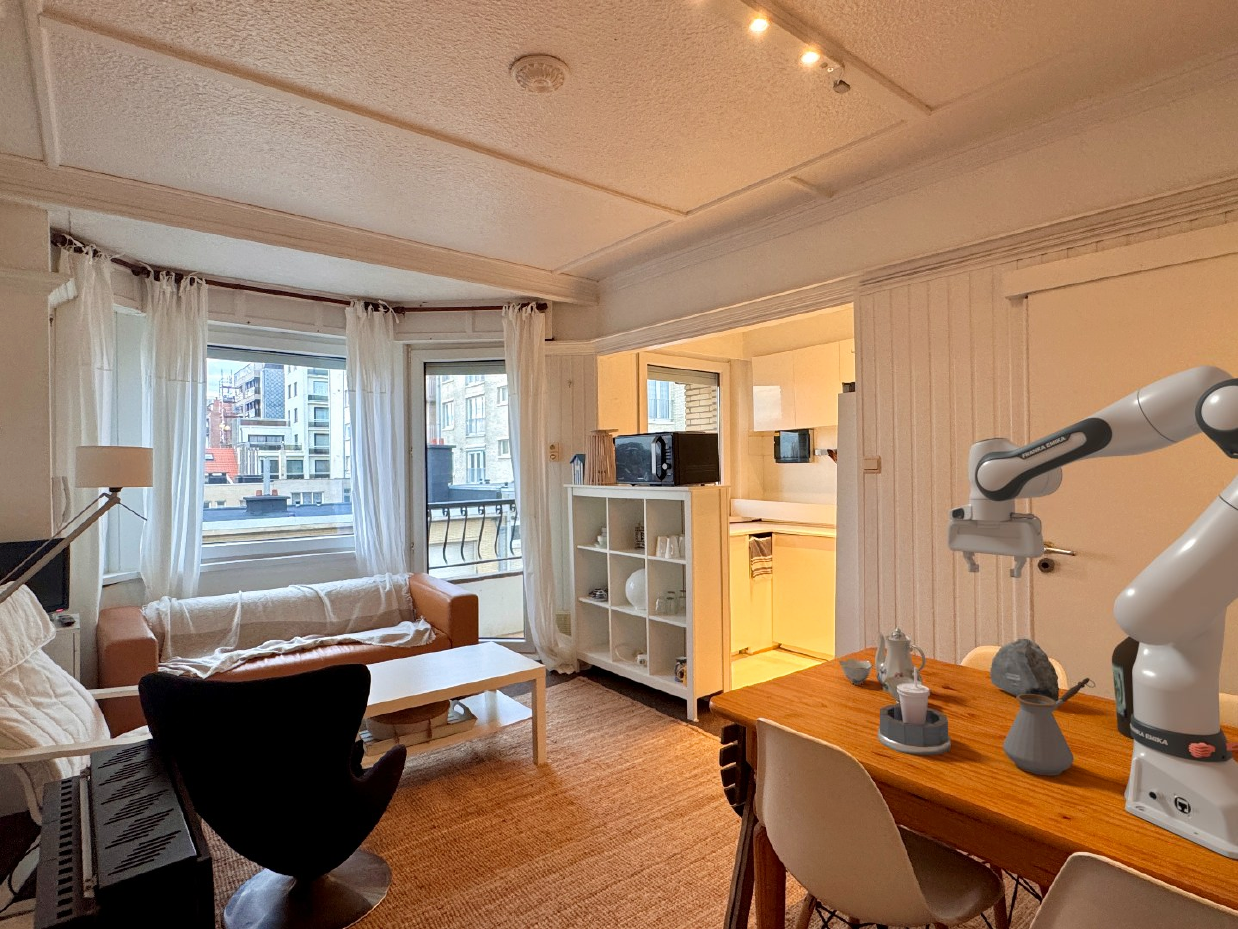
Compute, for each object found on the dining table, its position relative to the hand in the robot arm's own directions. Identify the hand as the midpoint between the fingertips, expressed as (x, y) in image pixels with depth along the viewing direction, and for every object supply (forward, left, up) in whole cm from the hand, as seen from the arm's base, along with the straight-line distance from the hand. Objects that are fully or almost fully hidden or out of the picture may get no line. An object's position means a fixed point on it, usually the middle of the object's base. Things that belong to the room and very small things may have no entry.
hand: (994, 574), depth 145 cm
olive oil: (-9, -27, -34) cm, 44 cm away
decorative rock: (+16, -19, -34) cm, 42 cm away
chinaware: (+28, +10, -34) cm, 45 cm away
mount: (-3, +22, -34) cm, 40 cm away
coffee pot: (-17, +1, -34) cm, 38 cm away
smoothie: (-3, +22, -32) cm, 39 cm away
